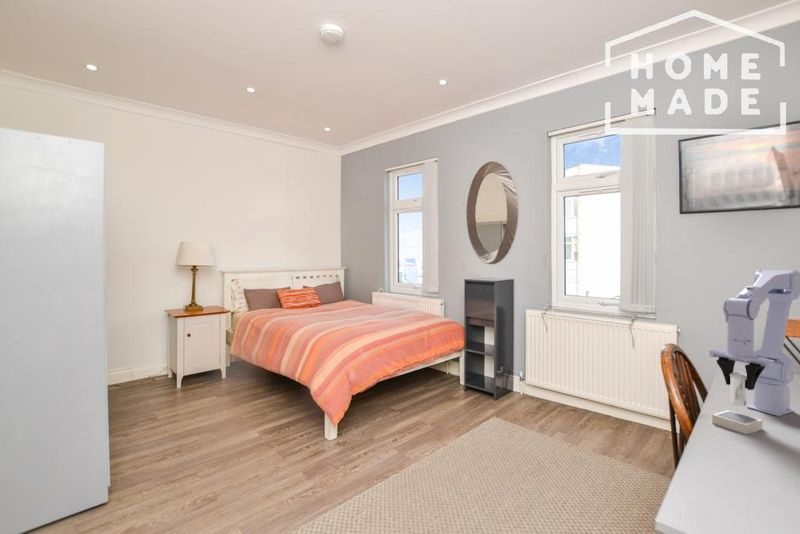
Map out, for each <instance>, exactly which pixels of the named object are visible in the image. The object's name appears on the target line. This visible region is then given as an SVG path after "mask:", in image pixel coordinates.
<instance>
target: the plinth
mask: <svg viewBox="0 0 800 534" xmlns="http://www.w3.org/2000/svg"><path fill="white" fill-rule="evenodd" d="M711 416H712V417H711V423H712V424H714V425H716V426H719V427H722V428H726V429H729V430H732V431H733V432H734V431H735V432H738V433H742V434H744V435H750V434H753V433H755V432H759V431H761V430H763V427H764V425H763V419H760V418H757V417H753V416H749V415H747V414H742V413H738V412H736V411H731V410H729V409H727V410H724V411H719V412H716V413H713V414H712V415H711Z"/></svg>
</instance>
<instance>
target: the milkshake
mask: <svg viewBox="0 0 800 534" xmlns="http://www.w3.org/2000/svg"><path fill="white" fill-rule="evenodd" d="M729 378H730V385H729V396H730V397H729V398H730V399H729V401H730V404H731V405H733V406H737V407H746V406H747V405H746V404H747V398H748V393H749V392H748V391H749V390H748V389H747V374H745V373H741V372H737V371H736V372H734V371H733V373H731V374H730V375H729Z"/></svg>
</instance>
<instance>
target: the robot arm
mask: <svg viewBox="0 0 800 534" xmlns="http://www.w3.org/2000/svg"><path fill="white" fill-rule="evenodd" d="M798 299H800V271H798V270H797V269H792V270H790V269H789V270H787V269H786V270H785V269H784V270H782V269H781V270H780V269H779V270H778V269H774V270H773V269H772V270H771V269H768V270H767V269H766V270H765V269H758V270H757V271H756V272H755V274H754V276H753V284H752V285H746V287H744V288H743V289H742V290H741V291H740V292H739V293H738V294H737V295H736V296H735V297H730V298H727V299H726V300H724V303H723V306H722V307H723V308H722V309H723V315H724V317H725V318H724V321H725V323H726V324H727V327H726V328H727V331H726V332H727V335H726V336H727V337H726V338H727V343H726V344H727V345H726V347H727V349H726V351H725V350H718V349H709V357H711V358H718V359H716V363H717V365H718V367H719V368H720V370H721V372H722V374H723V378H724V381H725V385H727V386H730V378H729V375H730V374H731V373H733V372H734V369H735V368H734V367H735V364H736V362H740V363H744V364H745V365H744V368H745V373H746V375H747V389H748V391H752V399H753V400H752V404H748V405H746V407H747V408H749V409H752V410H755V411H759V412H763V413H767V414H770V415H774V416H777V417H780V416H781V417H782V416H784V415H786V414H790V413H793V412H795V409H793V408H791V389H790V387H789V386H788V385H789V384H790V383H792V382H793V379H794V376H795V375H794V374H795V371H794V370H795V369H794V361H793V360H792V358H791V357H790V356H789V355H787V354H785V353H784V352H783V351H784V344H785V339H786V333H787V328H788V323H789V322H788V321H789V316H790V311H791V310H790V309H791V305H792V302H793V301H795V300H798ZM766 300H768V301H769V303H768V309H767V314H766V320H765V326H764V332H763V338H762V341H761V342H762V343H761V347H760V348H758V349H755V347H754V346H755V345H754V344H755V343H754V341H755V339H754V338H755V337H754V336H755V329H754V328H755V320H756V319H757V317H758V316H759V312H760V309H761V306H762V304H764V303H765V301H766Z"/></svg>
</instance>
